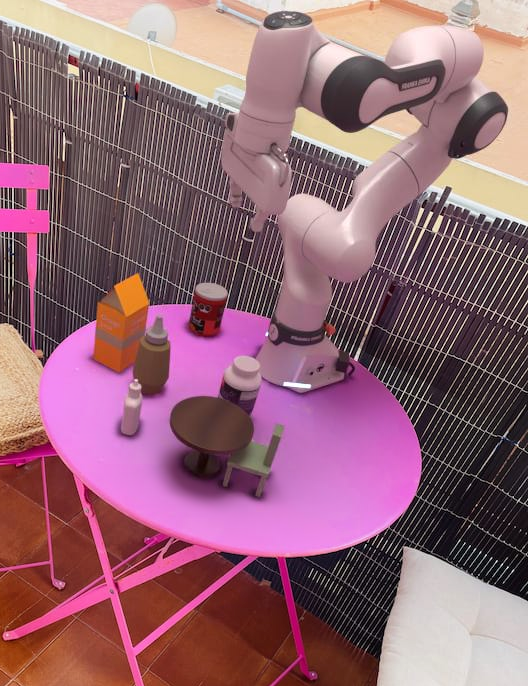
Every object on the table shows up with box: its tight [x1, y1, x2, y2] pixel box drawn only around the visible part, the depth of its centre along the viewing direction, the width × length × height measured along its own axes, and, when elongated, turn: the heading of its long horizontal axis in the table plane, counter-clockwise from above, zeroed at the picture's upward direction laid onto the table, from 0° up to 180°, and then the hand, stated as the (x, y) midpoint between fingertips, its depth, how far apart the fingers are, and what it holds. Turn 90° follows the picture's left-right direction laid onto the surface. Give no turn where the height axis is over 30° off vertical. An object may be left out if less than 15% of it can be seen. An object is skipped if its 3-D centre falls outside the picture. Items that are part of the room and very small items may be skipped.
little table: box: [169, 395, 255, 478], centre depth 132 cm, size 16×16×11 cm
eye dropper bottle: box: [120, 379, 143, 436], centre depth 137 cm, size 4×6×12 cm
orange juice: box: [92, 272, 150, 373], centre depth 151 cm, size 8×9×20 cm
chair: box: [222, 423, 285, 498], centre depth 130 cm, size 8×8×14 cm
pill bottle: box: [217, 355, 263, 419], centre depth 143 cm, size 8×8×14 cm
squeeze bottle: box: [132, 314, 172, 396], centre depth 146 cm, size 8×8×18 cm
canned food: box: [188, 282, 228, 338], centre depth 169 cm, size 8×8×11 cm
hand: (244, 217), depth 119 cm, fingers open, 8 cm apart
